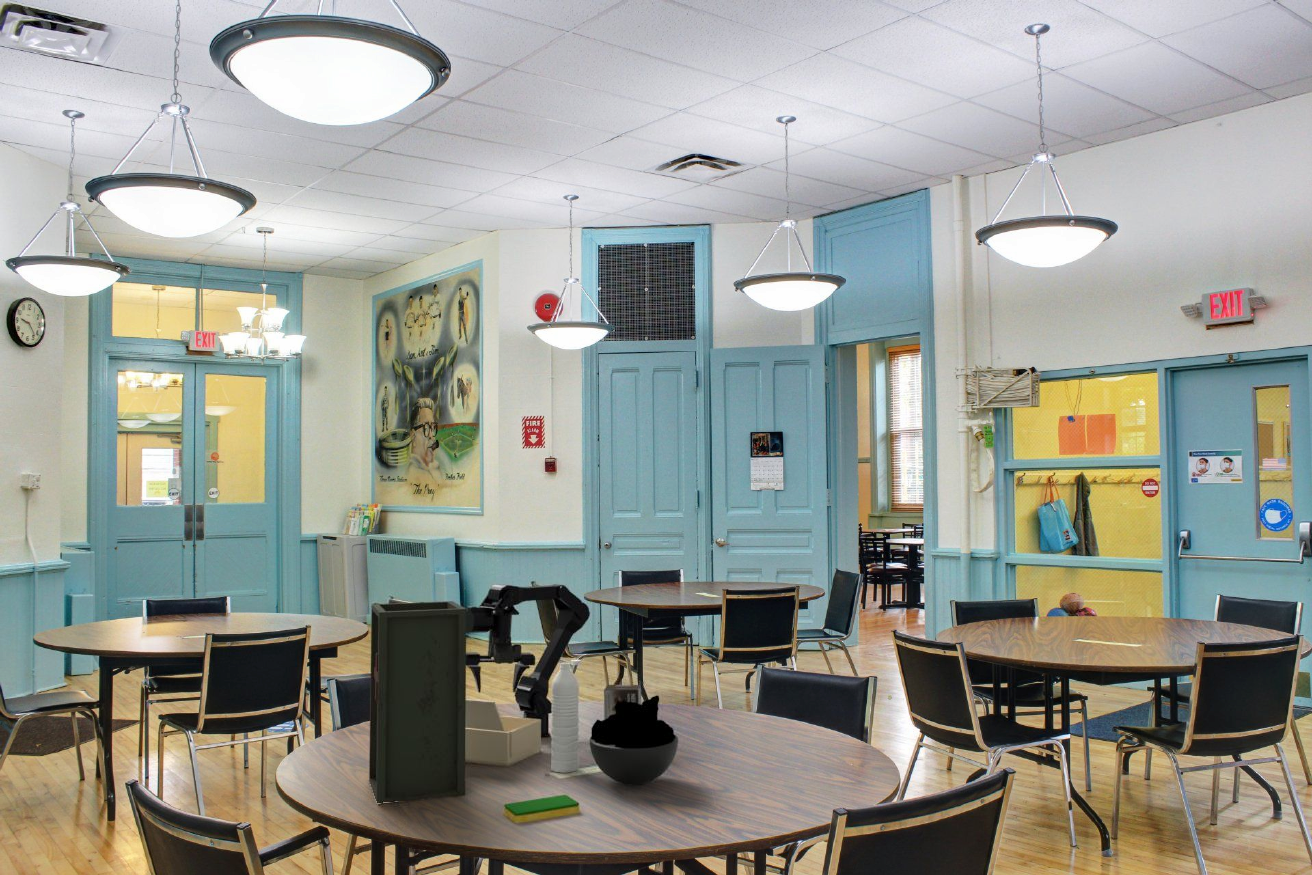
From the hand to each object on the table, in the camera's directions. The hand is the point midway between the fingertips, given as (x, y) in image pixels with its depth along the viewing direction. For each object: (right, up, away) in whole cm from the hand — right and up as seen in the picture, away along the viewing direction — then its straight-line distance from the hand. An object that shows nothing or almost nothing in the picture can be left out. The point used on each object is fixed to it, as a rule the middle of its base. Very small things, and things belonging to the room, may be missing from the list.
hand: (496, 692), depth 268 cm
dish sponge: (+19, -10, -61) cm, 64 cm away
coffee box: (+34, -13, -9) cm, 37 cm away
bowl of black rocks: (+37, -11, -39) cm, 55 cm away
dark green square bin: (-11, -11, -42) cm, 45 cm away
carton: (0, -12, -13) cm, 18 cm away
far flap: (-4, +1, -22) cm, 23 cm away
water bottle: (+21, -12, -26) cm, 36 cm away
